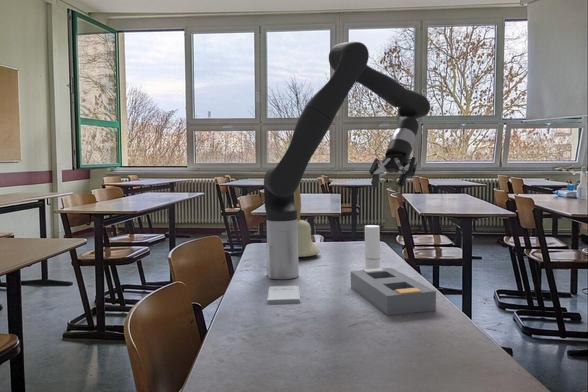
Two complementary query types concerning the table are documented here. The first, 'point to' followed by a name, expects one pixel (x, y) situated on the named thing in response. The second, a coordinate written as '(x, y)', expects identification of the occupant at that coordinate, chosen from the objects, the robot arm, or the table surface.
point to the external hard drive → (283, 294)
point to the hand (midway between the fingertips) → (386, 186)
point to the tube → (372, 246)
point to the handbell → (303, 231)
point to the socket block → (393, 291)
